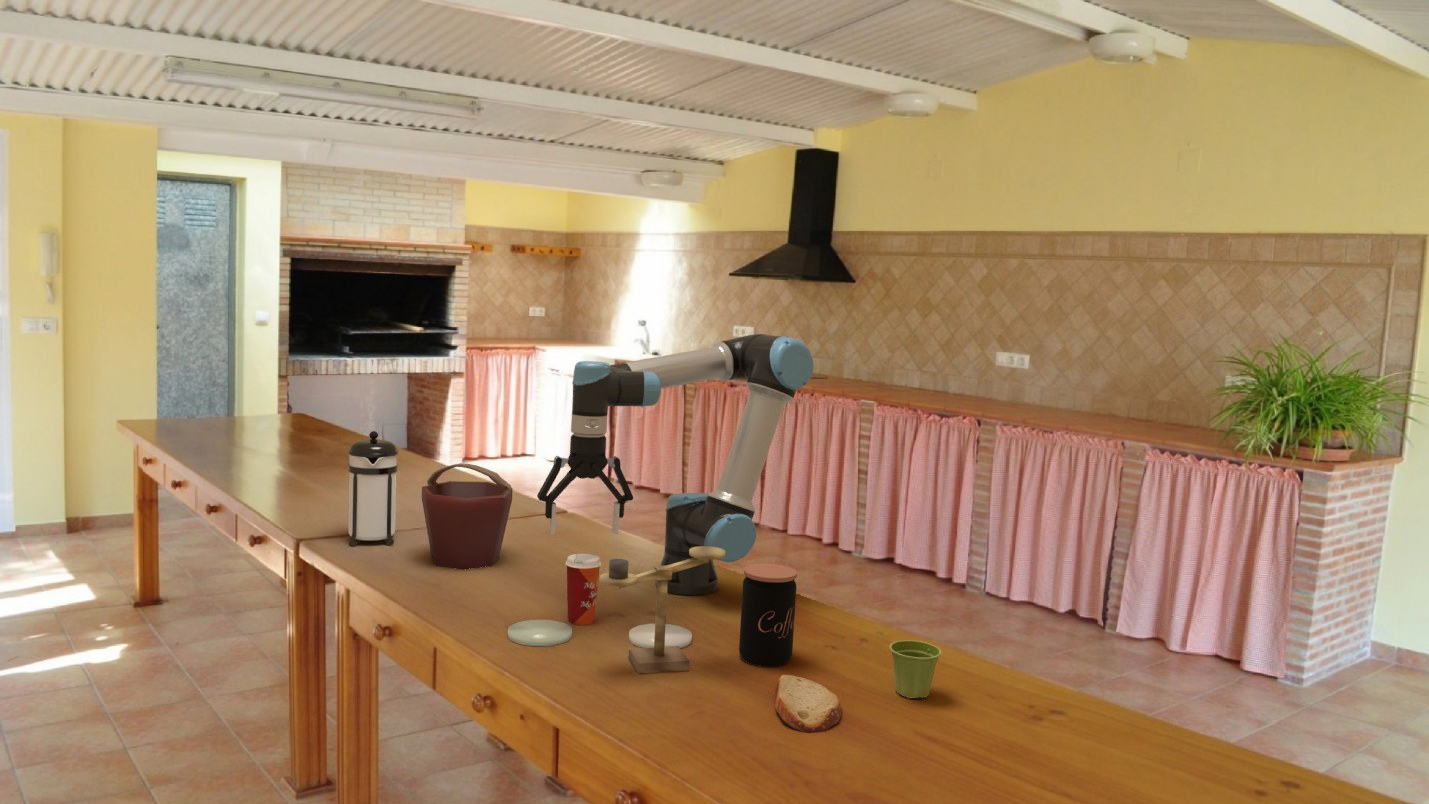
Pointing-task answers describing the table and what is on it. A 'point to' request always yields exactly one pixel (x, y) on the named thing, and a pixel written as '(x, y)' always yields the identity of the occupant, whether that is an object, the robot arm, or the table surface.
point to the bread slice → (806, 704)
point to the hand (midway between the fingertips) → (583, 533)
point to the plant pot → (914, 666)
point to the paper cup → (582, 587)
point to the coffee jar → (767, 614)
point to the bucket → (466, 519)
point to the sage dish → (539, 632)
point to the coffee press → (372, 490)
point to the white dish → (673, 636)
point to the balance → (658, 608)
